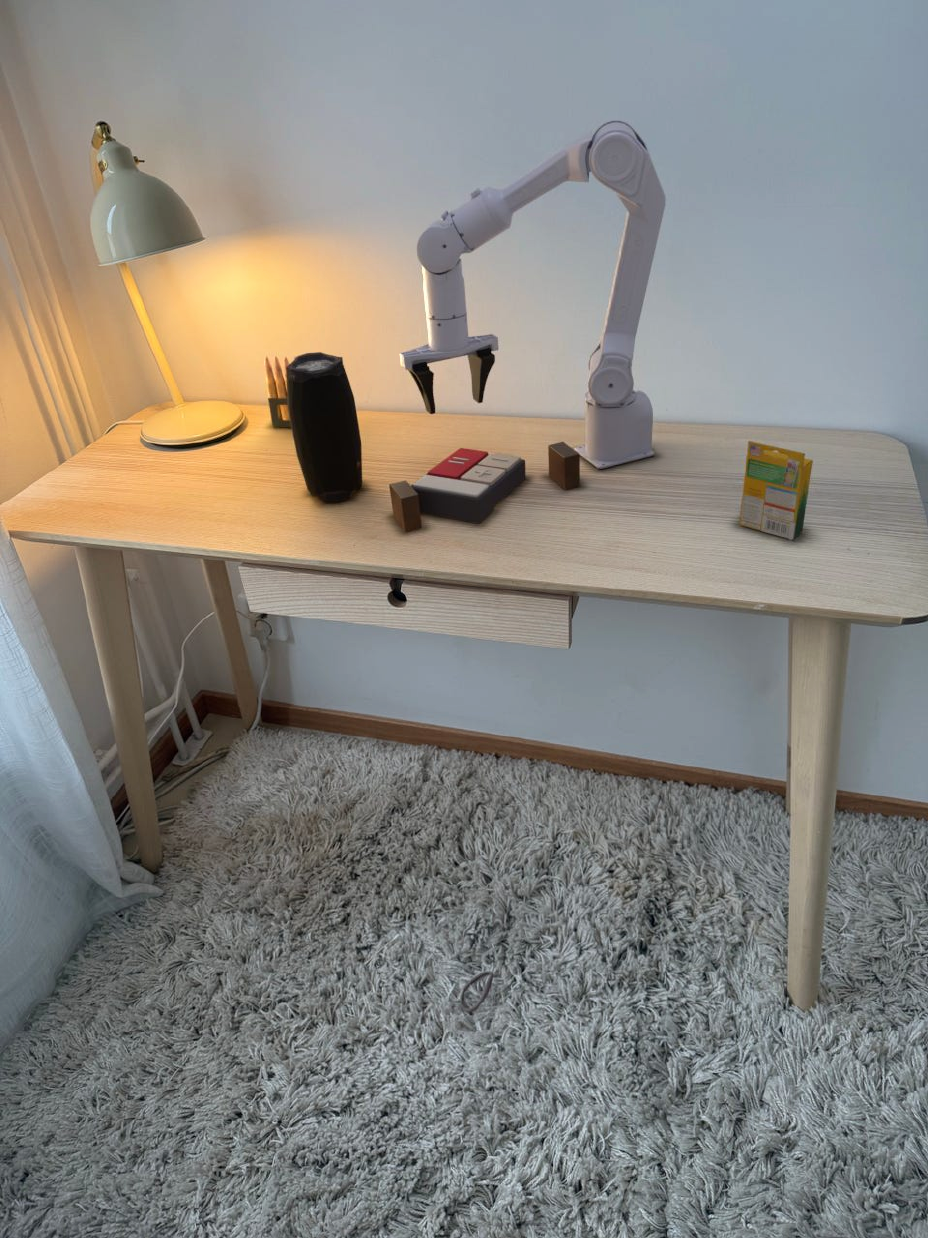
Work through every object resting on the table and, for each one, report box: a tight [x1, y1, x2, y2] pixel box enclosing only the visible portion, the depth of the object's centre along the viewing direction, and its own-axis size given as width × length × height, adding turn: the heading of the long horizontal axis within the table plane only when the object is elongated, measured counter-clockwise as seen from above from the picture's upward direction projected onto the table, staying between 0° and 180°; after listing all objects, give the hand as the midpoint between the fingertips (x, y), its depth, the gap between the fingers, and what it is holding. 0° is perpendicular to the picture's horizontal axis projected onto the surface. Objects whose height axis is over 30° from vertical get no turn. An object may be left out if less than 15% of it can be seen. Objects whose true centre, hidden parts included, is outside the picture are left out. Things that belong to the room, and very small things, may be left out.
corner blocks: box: [388, 441, 581, 533], centre depth 127 cm, size 26×5×5 cm, turn 112°
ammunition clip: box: [263, 355, 297, 428], centre depth 154 cm, size 11×2×12 cm, turn 75°
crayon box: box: [738, 440, 813, 541], centre depth 113 cm, size 7×3×12 cm, turn 49°
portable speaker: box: [286, 351, 363, 504], centre depth 129 cm, size 9×9×20 cm
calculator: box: [410, 447, 526, 524], centre depth 129 cm, size 11×4×15 cm
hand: (454, 406), depth 137 cm, fingers open, 7 cm apart
